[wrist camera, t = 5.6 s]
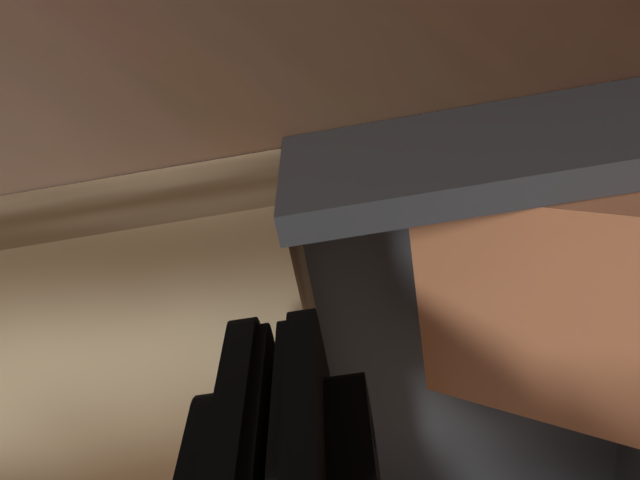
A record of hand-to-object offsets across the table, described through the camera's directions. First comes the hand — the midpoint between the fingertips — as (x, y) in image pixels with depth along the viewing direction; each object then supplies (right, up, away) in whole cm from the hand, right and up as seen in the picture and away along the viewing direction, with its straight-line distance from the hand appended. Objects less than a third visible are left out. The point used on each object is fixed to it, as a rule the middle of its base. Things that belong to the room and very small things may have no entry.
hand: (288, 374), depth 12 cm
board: (-4, -2, +6) cm, 7 cm away
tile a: (+5, +1, 0) cm, 5 cm away
